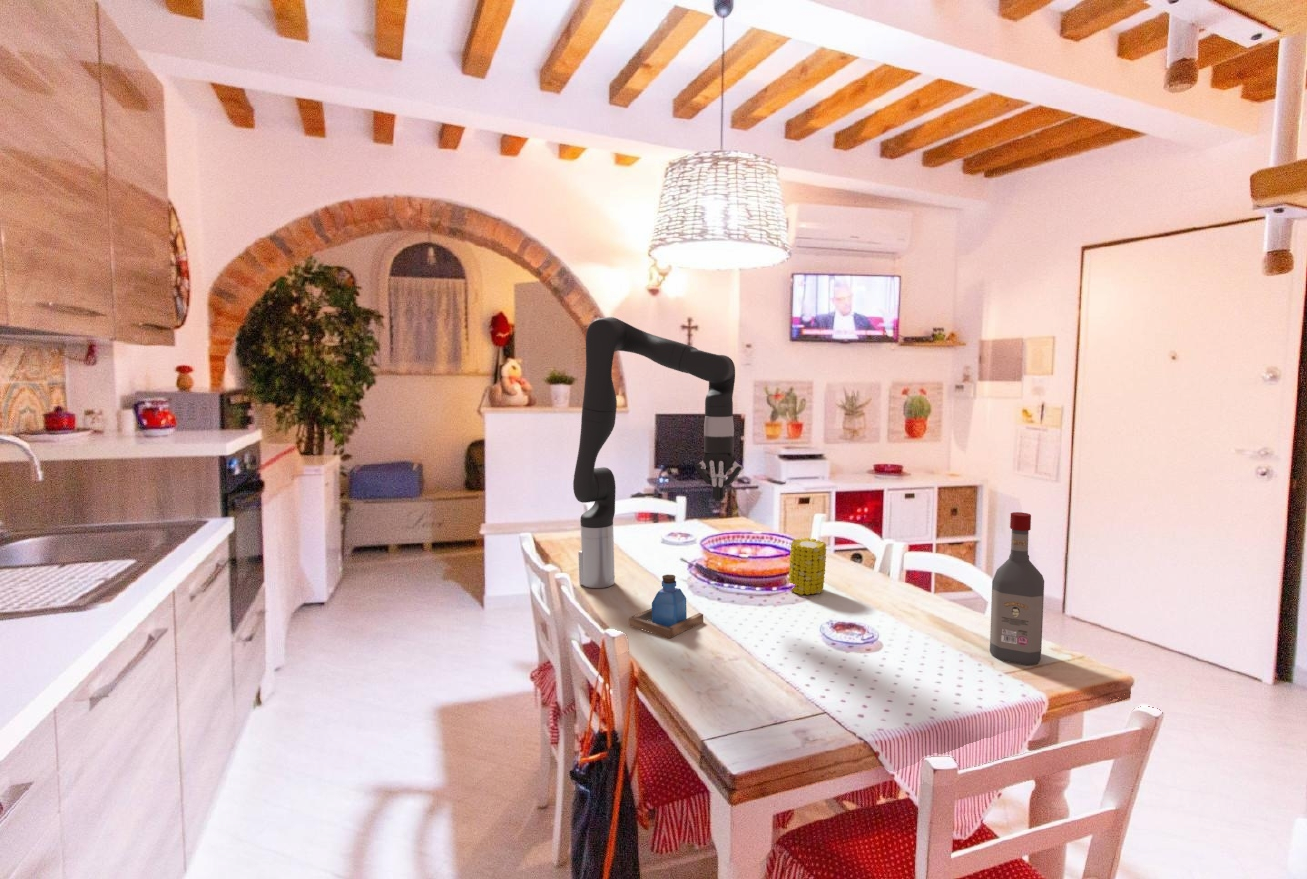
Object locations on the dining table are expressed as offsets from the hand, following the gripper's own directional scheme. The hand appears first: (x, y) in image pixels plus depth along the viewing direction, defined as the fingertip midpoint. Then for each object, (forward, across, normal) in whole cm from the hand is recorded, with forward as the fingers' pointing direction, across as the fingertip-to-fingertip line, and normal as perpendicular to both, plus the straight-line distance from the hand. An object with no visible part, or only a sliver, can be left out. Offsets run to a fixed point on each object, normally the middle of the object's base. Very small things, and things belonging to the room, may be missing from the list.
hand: (719, 500), depth 175 cm
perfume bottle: (+27, -5, -20) cm, 34 cm away
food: (+27, +19, +16) cm, 37 cm away
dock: (+27, -6, -20) cm, 34 cm away
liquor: (+26, +68, -8) cm, 73 cm away
